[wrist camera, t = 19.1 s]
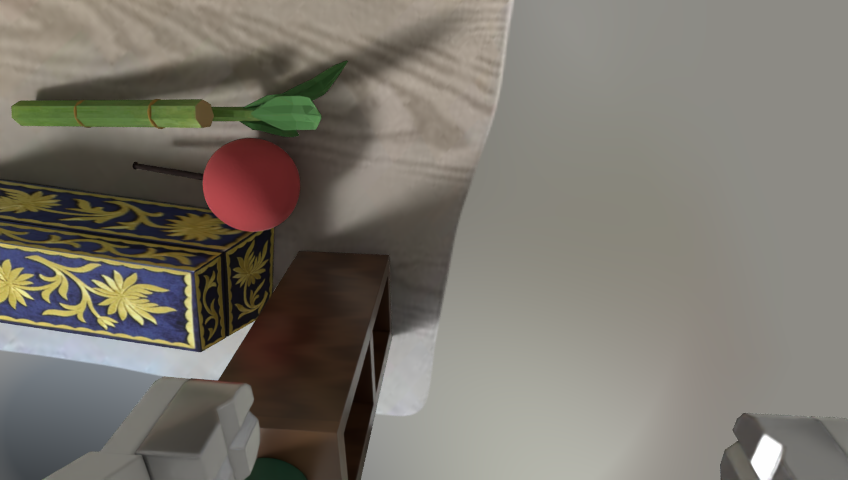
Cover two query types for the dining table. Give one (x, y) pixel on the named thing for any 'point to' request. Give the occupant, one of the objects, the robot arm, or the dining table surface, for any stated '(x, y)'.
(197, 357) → the dining table surface
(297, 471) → the tin
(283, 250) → the dining table surface
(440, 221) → the dining table surface
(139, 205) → the decorative box
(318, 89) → the decorative plant
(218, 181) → the lollipop
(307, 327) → the shelf
